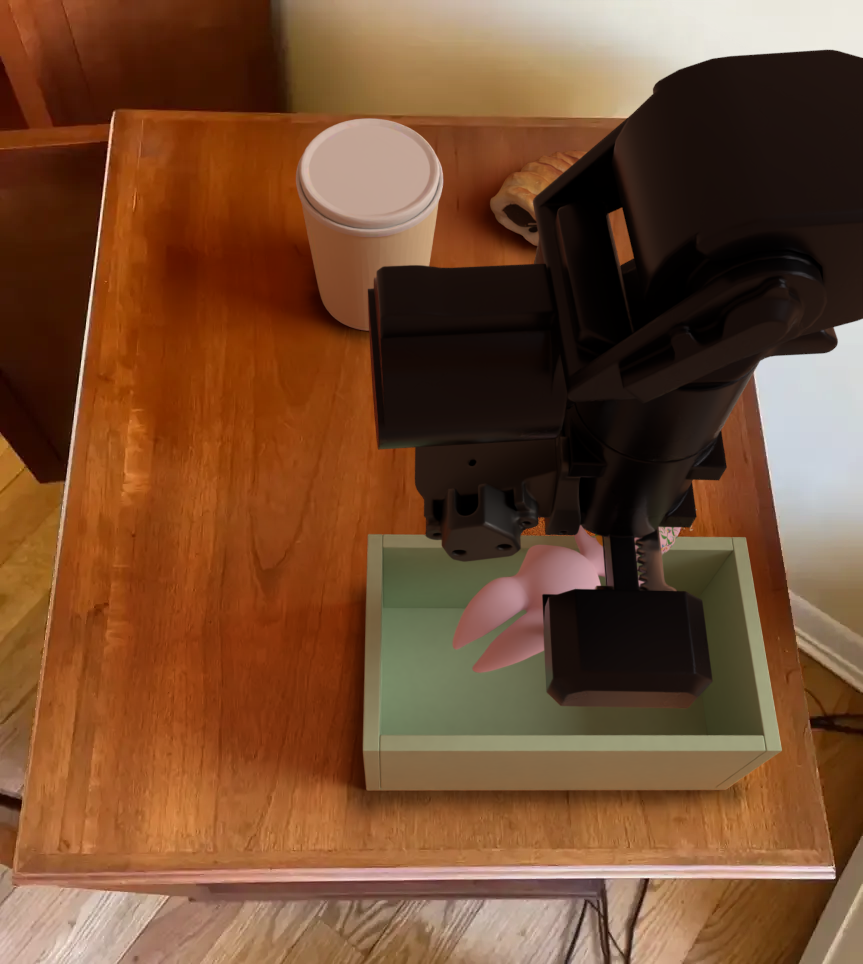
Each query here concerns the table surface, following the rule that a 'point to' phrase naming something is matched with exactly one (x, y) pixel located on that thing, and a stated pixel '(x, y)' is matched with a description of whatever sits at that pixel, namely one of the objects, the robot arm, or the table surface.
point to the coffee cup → (366, 208)
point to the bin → (522, 686)
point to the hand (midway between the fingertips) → (578, 564)
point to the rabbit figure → (534, 597)
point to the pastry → (529, 192)
